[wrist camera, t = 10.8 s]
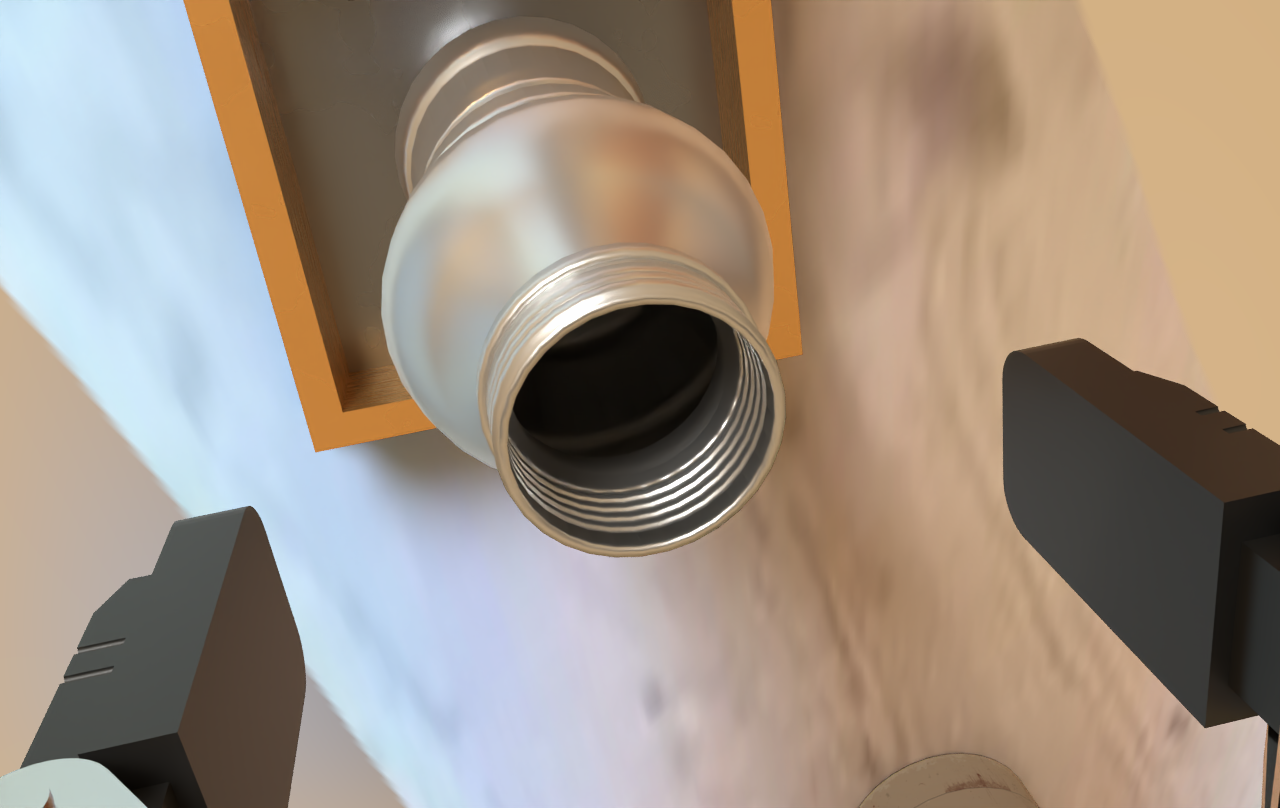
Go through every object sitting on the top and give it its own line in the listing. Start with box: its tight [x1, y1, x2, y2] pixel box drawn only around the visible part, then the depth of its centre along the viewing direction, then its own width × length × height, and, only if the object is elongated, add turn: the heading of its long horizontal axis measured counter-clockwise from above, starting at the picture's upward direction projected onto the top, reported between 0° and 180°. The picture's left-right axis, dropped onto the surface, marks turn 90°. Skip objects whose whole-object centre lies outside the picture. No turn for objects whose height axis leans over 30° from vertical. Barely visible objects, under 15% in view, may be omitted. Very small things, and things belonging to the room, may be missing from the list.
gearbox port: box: [183, 0, 803, 452], centre depth 31 cm, size 15×15×4 cm
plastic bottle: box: [381, 16, 786, 557], centre depth 23 cm, size 6×7×20 cm
